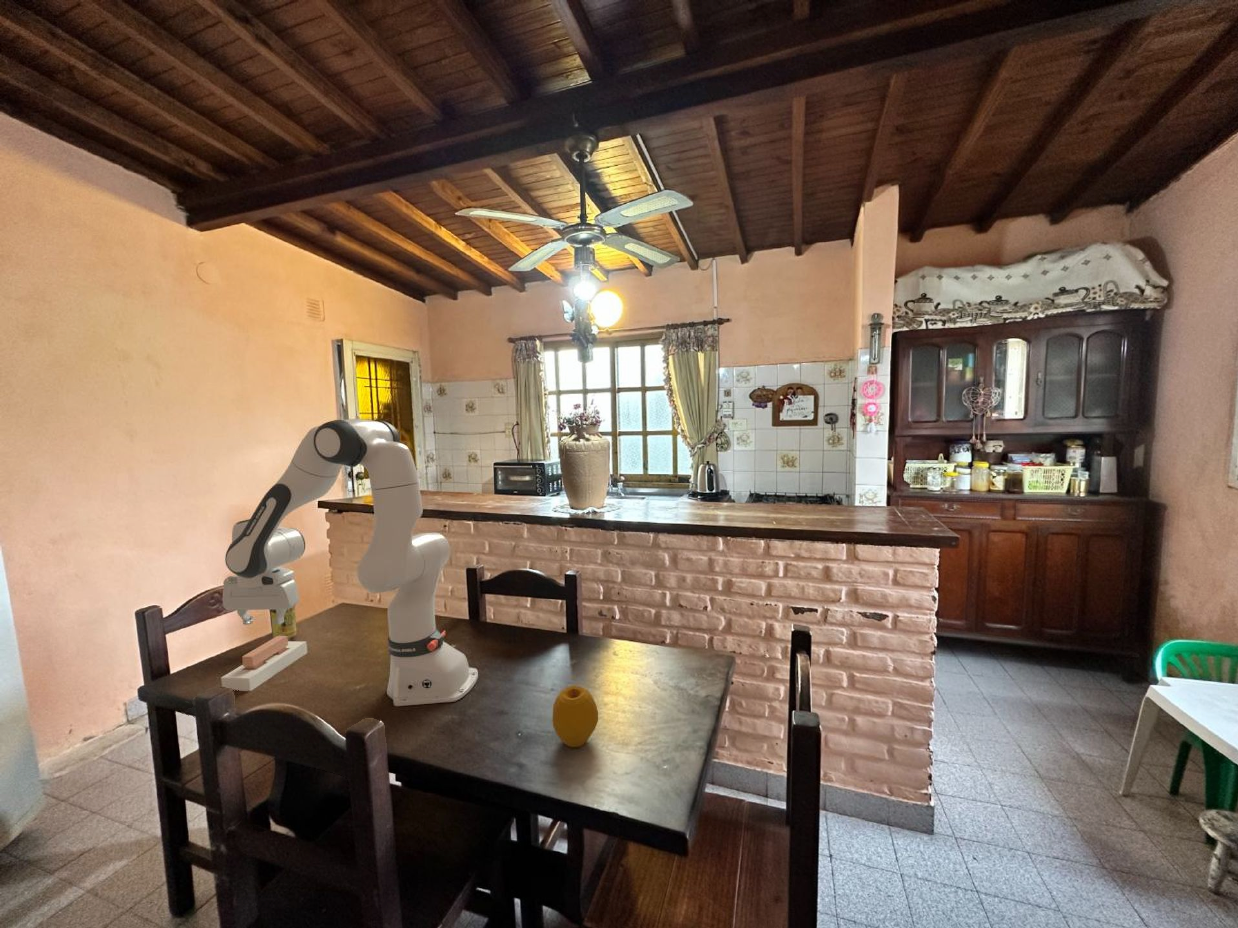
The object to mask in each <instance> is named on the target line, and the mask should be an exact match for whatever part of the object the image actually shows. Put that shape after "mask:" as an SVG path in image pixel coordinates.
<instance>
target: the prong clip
mask: <svg viewBox="0 0 1238 928" xmlns="http://www.w3.org/2000/svg"><path fill="white" fill-rule="evenodd" d="M286 646H288V637H287V636H277V637H275V638H273V637H272V638H271V639H270V640H268V641H267V642H265V643H263V644H261V645H259V646H257V647H256V648H255V649H253V650H251V651H249V652H248V653H245V654H244V655H243V656H241V657H242V660H241V661H242V665H243V666H245V667H247V670H256V669H258V668H259V667H261V666H263V665H264V664H263V660H265V659H267V658H268V657H270V656H272V655H280V654H282V653H283V652H285V651H286Z"/></svg>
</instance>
